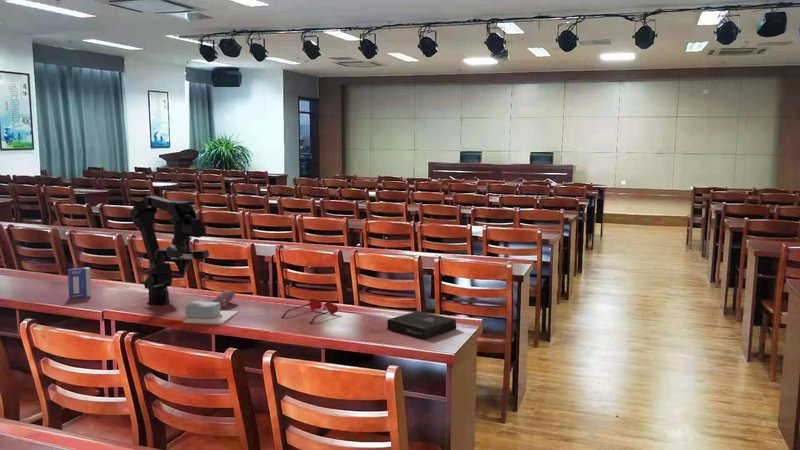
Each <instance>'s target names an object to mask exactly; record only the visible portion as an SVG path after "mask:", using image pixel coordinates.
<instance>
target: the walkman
mask: <svg viewBox="0 0 800 450" xmlns="http://www.w3.org/2000/svg"><path fill="white" fill-rule="evenodd" d="M91 275H92V273H91V267H89V266H88V267H78V268H70V269H69V268H68V269H67V279H68V280H67V281H68V283H67V285H68V298H69V299H71V300H75V298H76V299H81V298H82V297H83V298H89V297H90V298H91V297H92V281H91V278H92V277H91Z"/></svg>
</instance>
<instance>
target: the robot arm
mask: <svg viewBox="0 0 800 450" xmlns="http://www.w3.org/2000/svg"><path fill="white" fill-rule="evenodd" d="M159 210H162V211H164V212H167V214H168V215H169V216H170V217H172V218H171V219H170V220H169V222H170V223H171V224H172V225H173V226H172V228H173V229H172V230H173V238H172V239H171V244H170V245H169V246H168V247H167V248H164V247H163V248H160V246H159V243H158V239H157V236H156V232H155V229H154V224H155V220H156V216H155V215H156V213H158V211H159ZM129 216H130V218H131V220H132V222H133V224H134V225H135V226H136V227H137V228H138V229H139V231H140V235H141V237H142V238H141V239H142V241H143V245H144V247H145V252H146V255H147V259H148V262H149V267H148V270H147V277H146V279H145V281H144V282H143V285H144V289H148V301H147V302H146V304H148V305H165V304H166V303H168V302H170V300H171V299H170V294H169V293H170V292H169V289H168V287H172V283H173V277H174V274H173V270H172V268H171V264H170V263H169V262H166V261H164V258H165V257H166V256H167V258H168V259H169V260H170V261H172V262H173V263H175V265H176V267H177V270H178V272H179V274H180V277H185V276H186V273H187V271H188V269H189V265H190V264H191V263H192V260H205V259H207V258H210V251H209V250H208V249H197V250H196V249H195V250H194V251H192V250H193V249H192V247H191V241H192V238H198V239H199V238H201V237H203V236H204V235H205V232H206V227H205V225H204V223H203V222H201V219H200V218H198V215H197V213H196V212H195V210H194V207H193V205H192V203H191V202H190V201H186V200H185V201H184V200H183V201H181V200H179V201H174V200H170V199H167V198H163V197H160V196H158V195H146V196H145V197H143V198H142V200H141V201H139V202H137V203H136V204H134V205H133V207H132V208H131V210H130V211H129Z"/></svg>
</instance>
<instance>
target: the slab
mask: <svg viewBox="0 0 800 450" xmlns="http://www.w3.org/2000/svg"><path fill="white" fill-rule="evenodd" d="M184 308H185V309H184V311H185V312H184V313H185V314H184V315H185V318H189V317H194V318H214V317H215V316H217V315H218V314H220V311H221V305H220V302H212V301H192V302H190V303H188V304H187V305H185V307H184Z"/></svg>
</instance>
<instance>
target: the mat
mask: <svg viewBox="0 0 800 450" xmlns="http://www.w3.org/2000/svg"><path fill="white" fill-rule="evenodd" d="M238 313H239V311H238V310H235V311H234V310H220V314H218V315H217V316H215V317H214V318H194V317H187V318H186V319H185V320H183V321H182V323H183V324H201V325H202V324H203V325H204V324H205V325H223V324H224V323H226V322H227V321H229V320H230V319H232V318H234V316H236V315H237V314H238Z"/></svg>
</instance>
